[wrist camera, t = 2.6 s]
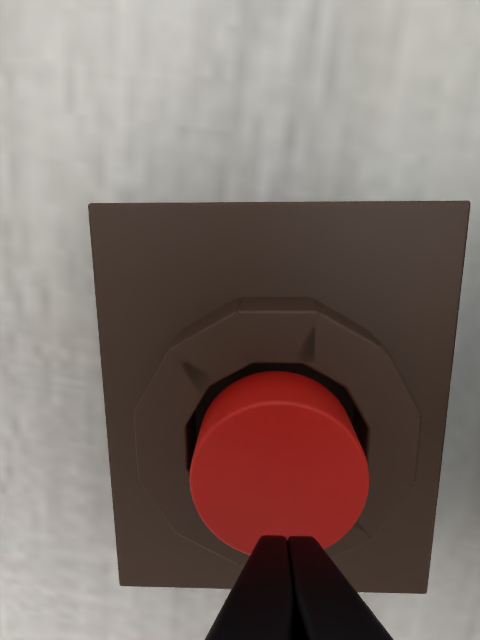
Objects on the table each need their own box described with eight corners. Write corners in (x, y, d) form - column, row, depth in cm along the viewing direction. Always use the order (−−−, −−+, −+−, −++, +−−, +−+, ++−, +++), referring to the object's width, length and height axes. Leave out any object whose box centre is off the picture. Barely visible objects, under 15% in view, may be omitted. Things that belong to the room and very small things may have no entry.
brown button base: (406, 546, 15) (450, 647, 11) (135, 540, 15) (100, 636, 12) (439, 202, 12) (510, 199, 9) (112, 204, 13) (57, 202, 9)
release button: (348, 508, 11) (364, 563, 9) (201, 506, 11) (191, 559, 9) (356, 370, 10) (376, 402, 8) (197, 368, 10) (185, 400, 9)
